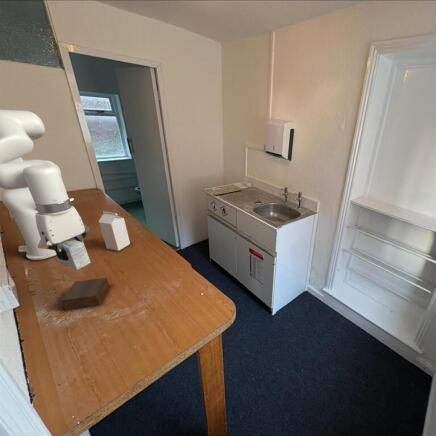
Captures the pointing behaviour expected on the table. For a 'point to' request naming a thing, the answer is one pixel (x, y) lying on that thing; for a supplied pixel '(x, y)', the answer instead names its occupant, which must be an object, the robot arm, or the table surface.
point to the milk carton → (114, 231)
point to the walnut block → (85, 293)
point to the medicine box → (75, 254)
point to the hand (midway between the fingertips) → (73, 255)
